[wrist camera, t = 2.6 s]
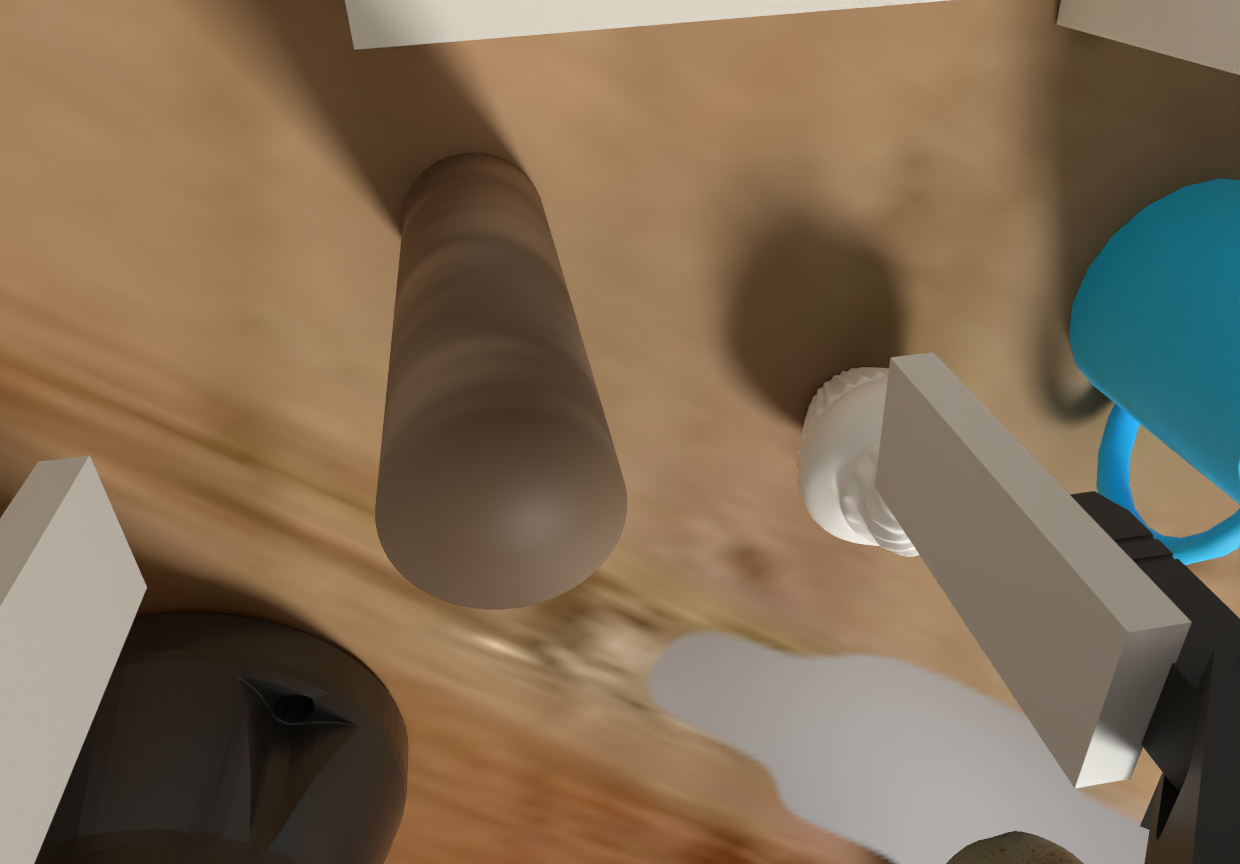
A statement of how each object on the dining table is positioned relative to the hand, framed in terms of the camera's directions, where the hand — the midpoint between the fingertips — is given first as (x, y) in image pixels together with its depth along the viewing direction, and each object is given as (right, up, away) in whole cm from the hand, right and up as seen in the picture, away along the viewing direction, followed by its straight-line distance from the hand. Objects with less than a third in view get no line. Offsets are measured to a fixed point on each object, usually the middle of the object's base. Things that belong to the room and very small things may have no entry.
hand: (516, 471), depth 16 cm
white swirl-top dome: (+10, +2, +17) cm, 19 cm away
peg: (-2, +7, +11) cm, 13 cm away
